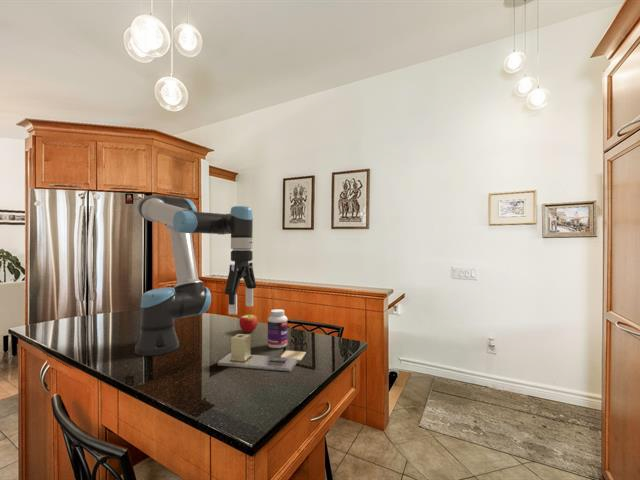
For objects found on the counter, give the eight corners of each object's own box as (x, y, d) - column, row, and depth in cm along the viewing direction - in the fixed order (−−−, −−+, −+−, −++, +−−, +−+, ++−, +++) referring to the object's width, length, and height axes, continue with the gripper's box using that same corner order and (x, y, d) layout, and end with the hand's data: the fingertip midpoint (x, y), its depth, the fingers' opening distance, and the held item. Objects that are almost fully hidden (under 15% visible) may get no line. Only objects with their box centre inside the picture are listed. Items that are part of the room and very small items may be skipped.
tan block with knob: (231, 363, 106) (231, 337, 107) (237, 358, 111) (237, 333, 111) (244, 365, 106) (244, 338, 106) (250, 359, 110) (250, 334, 111)
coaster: (279, 359, 111) (279, 358, 111) (285, 351, 119) (285, 350, 119) (300, 360, 110) (300, 359, 110) (305, 353, 117) (305, 351, 117)
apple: (261, 330, 146) (261, 309, 147) (248, 335, 139) (248, 313, 139) (248, 328, 151) (248, 307, 151) (235, 332, 144) (235, 310, 144)
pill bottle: (283, 350, 120) (284, 313, 121) (264, 348, 122) (264, 312, 122) (289, 343, 128) (290, 309, 128) (271, 342, 130) (271, 308, 130)
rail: (217, 365, 105) (217, 362, 105) (230, 355, 114) (230, 352, 114) (290, 371, 100) (290, 368, 100) (297, 361, 109) (297, 358, 109)
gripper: (235, 250, 96) (235, 318, 96) (264, 249, 121) (264, 303, 120) (213, 250, 98) (213, 317, 97) (246, 249, 122) (246, 302, 122)
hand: (241, 309), depth 109 cm, fingers open, 13 cm apart
